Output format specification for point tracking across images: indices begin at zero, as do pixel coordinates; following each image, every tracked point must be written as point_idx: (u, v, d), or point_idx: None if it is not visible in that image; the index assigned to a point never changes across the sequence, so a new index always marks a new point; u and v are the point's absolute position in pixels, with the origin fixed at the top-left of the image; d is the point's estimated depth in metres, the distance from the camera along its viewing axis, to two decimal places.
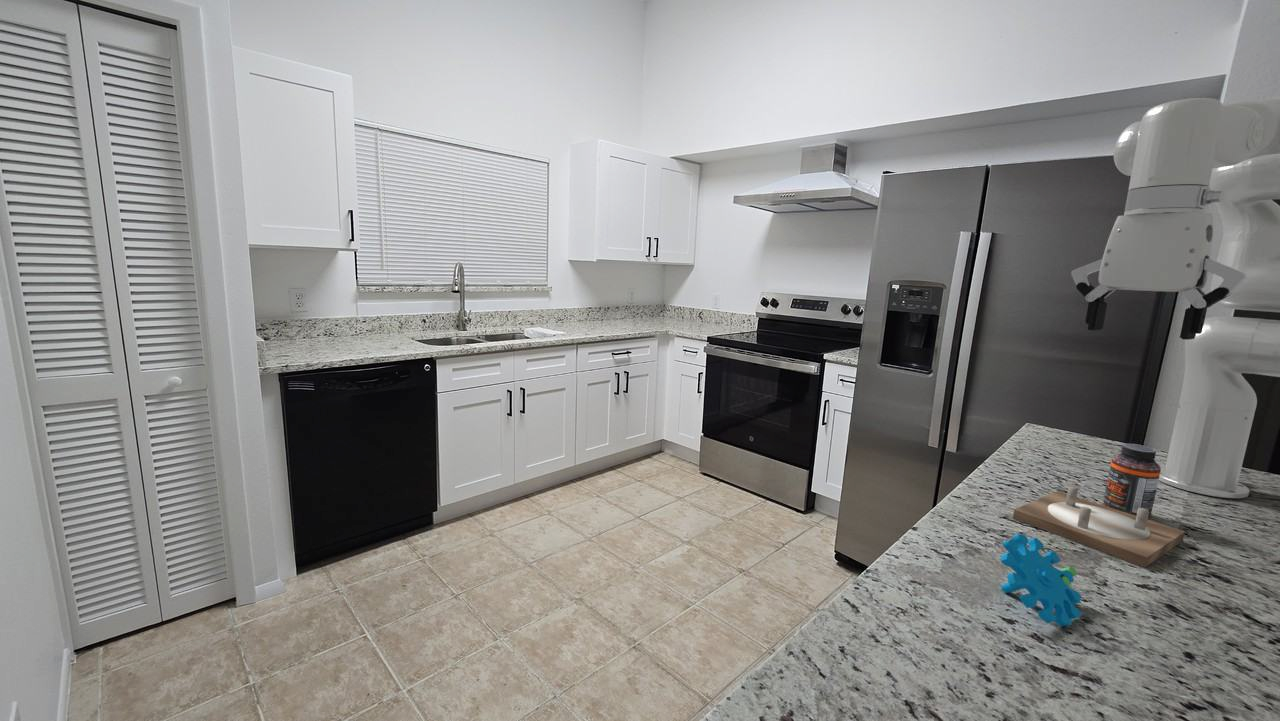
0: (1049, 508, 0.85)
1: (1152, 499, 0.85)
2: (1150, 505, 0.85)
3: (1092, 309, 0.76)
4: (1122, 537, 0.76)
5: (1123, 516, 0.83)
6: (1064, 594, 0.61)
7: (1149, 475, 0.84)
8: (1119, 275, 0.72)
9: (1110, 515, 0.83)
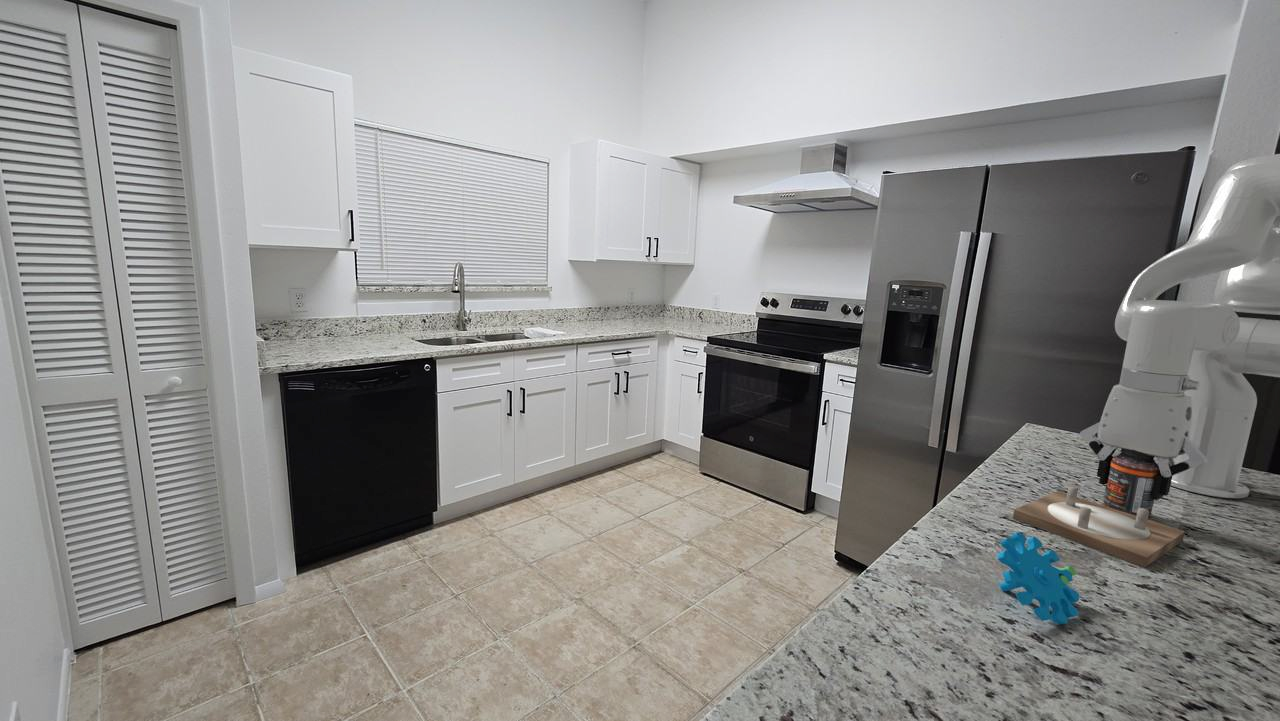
0: (1049, 508, 0.85)
1: (1152, 499, 0.85)
2: (1150, 505, 0.85)
3: (1102, 467, 0.89)
4: (1122, 537, 0.76)
5: (1123, 516, 0.83)
6: (1061, 592, 0.61)
7: (1149, 475, 0.84)
8: (1115, 436, 0.87)
9: (1110, 515, 0.83)
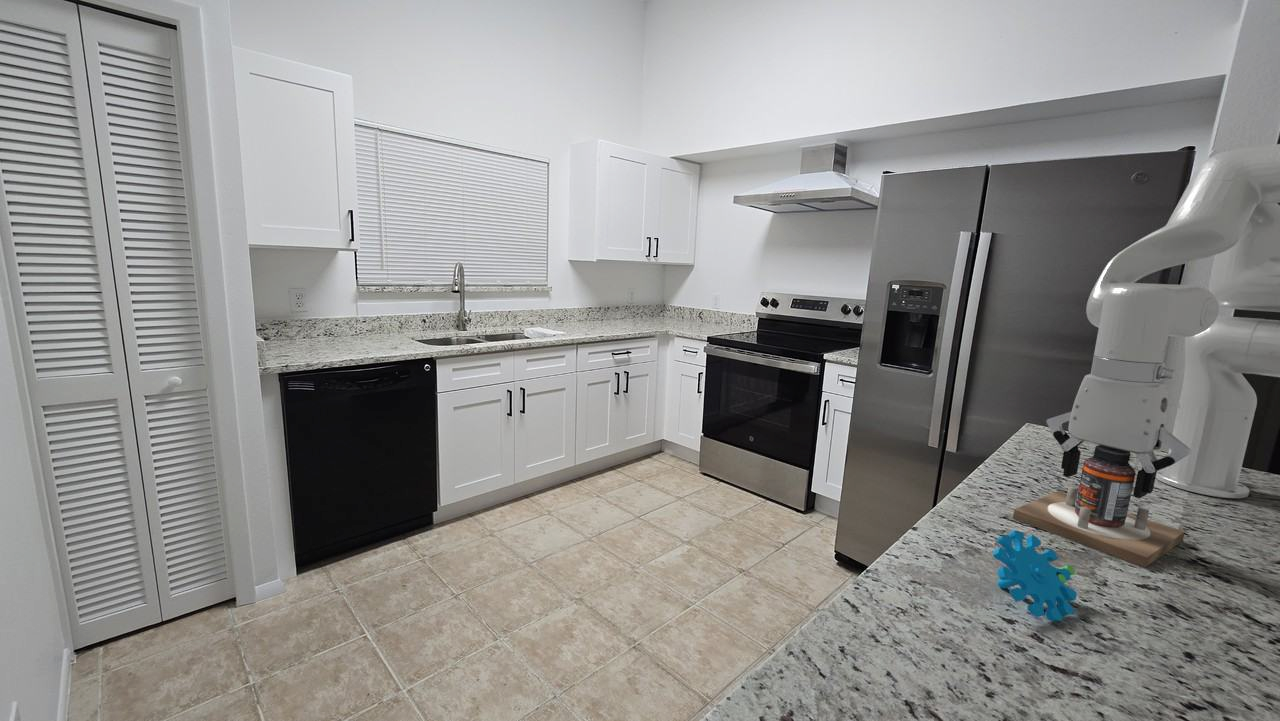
0: (1049, 508, 0.85)
1: (1126, 505, 0.78)
2: (1124, 512, 0.78)
3: (1067, 458, 0.83)
4: (1122, 537, 0.76)
5: None
6: (1057, 590, 0.61)
7: (1122, 479, 0.77)
8: (1086, 430, 0.80)
9: None
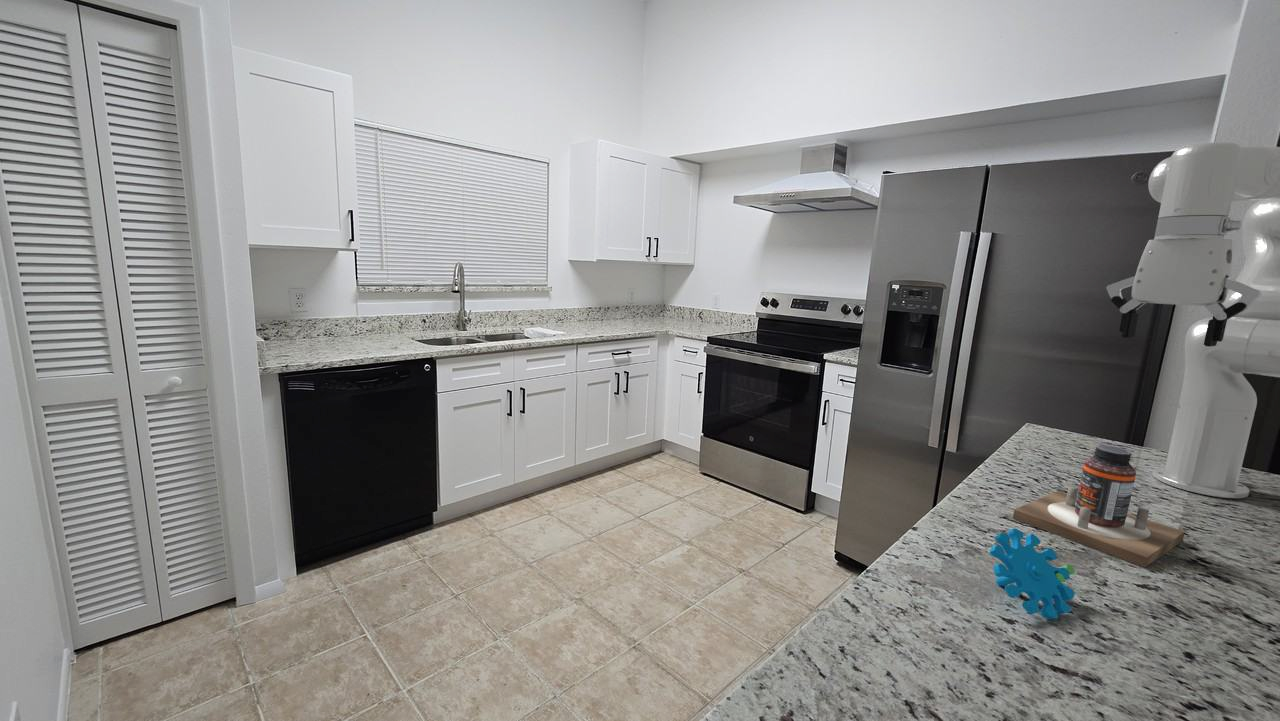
0: (1049, 508, 0.85)
1: (1126, 505, 0.78)
2: (1124, 511, 0.78)
3: (1126, 319, 0.88)
4: (1122, 537, 0.76)
5: None
6: (1054, 589, 0.62)
7: (1123, 479, 0.77)
8: (1150, 291, 0.84)
9: None
